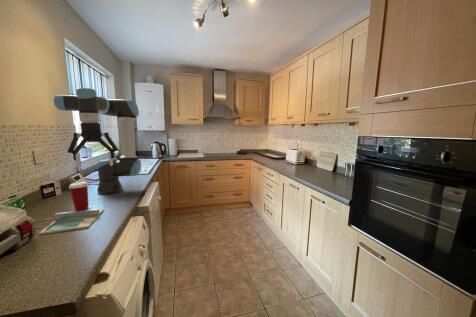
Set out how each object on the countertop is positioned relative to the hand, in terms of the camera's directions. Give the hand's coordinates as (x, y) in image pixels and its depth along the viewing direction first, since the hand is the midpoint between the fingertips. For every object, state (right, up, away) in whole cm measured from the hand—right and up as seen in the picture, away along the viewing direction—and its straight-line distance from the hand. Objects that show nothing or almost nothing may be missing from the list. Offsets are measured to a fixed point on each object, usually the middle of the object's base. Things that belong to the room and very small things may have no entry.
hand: (95, 166), depth 98 cm
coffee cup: (-17, -25, +13) cm, 33 cm away
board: (-9, -27, -1) cm, 28 cm away
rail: (-10, -26, +2) cm, 28 cm away
